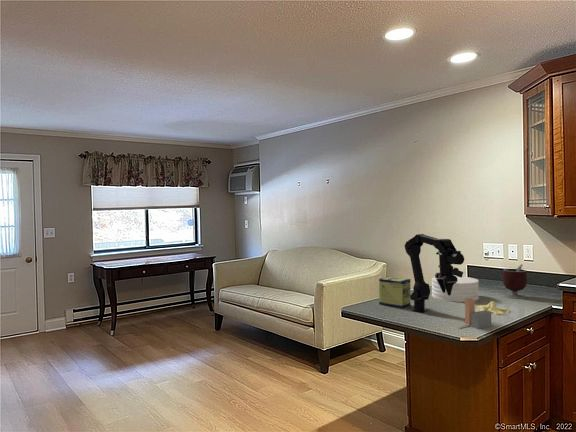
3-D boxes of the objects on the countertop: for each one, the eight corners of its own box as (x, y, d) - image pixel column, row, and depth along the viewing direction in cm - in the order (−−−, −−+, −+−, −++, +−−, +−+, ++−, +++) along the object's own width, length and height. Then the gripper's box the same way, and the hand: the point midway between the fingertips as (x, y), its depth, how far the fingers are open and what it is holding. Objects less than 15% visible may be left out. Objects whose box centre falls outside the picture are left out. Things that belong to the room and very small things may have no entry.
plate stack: (449, 291, 299) (449, 274, 299) (487, 298, 276) (487, 280, 275) (422, 296, 284) (422, 278, 283) (460, 304, 260) (460, 284, 260)
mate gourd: (519, 300, 269) (519, 267, 268) (498, 296, 280) (498, 265, 280) (533, 297, 277) (533, 265, 277) (511, 293, 289) (511, 263, 288)
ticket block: (457, 328, 208) (457, 313, 208) (480, 323, 217) (480, 309, 217) (468, 331, 203) (468, 316, 203) (491, 326, 212) (491, 311, 212)
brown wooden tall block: (465, 323, 216) (465, 299, 216) (470, 322, 218) (470, 298, 218) (469, 324, 214) (469, 300, 214) (474, 323, 216) (474, 299, 216)
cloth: (479, 306, 256) (480, 295, 256) (514, 311, 244) (514, 300, 244) (465, 313, 240) (466, 302, 240) (502, 319, 227) (502, 307, 227)
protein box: (402, 308, 251) (402, 281, 250) (378, 304, 261) (378, 278, 261) (411, 305, 258) (411, 278, 258) (387, 301, 269) (387, 276, 268)
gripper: (467, 264, 216) (468, 296, 215) (455, 261, 234) (456, 291, 234) (444, 265, 216) (445, 296, 216) (434, 262, 235) (435, 291, 234)
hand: (446, 293), depth 225 cm, fingers open, 9 cm apart
